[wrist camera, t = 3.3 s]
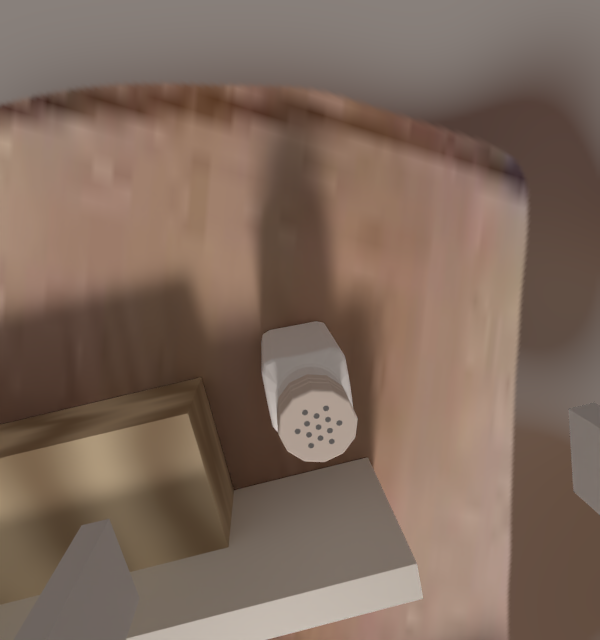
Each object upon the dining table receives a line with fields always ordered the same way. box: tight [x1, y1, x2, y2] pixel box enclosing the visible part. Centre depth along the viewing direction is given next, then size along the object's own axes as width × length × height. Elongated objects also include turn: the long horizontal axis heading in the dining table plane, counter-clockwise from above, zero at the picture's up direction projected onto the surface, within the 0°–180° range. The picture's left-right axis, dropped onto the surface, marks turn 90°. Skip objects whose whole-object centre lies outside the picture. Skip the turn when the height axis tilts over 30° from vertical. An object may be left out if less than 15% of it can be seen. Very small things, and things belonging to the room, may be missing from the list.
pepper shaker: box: [261, 321, 358, 462], centre depth 21 cm, size 4×4×10 cm
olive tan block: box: [0, 378, 234, 605], centre depth 24 cm, size 16×8×5 cm, turn 102°
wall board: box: [0, 457, 423, 640], centre depth 23 cm, size 28×2×9 cm, turn 102°
